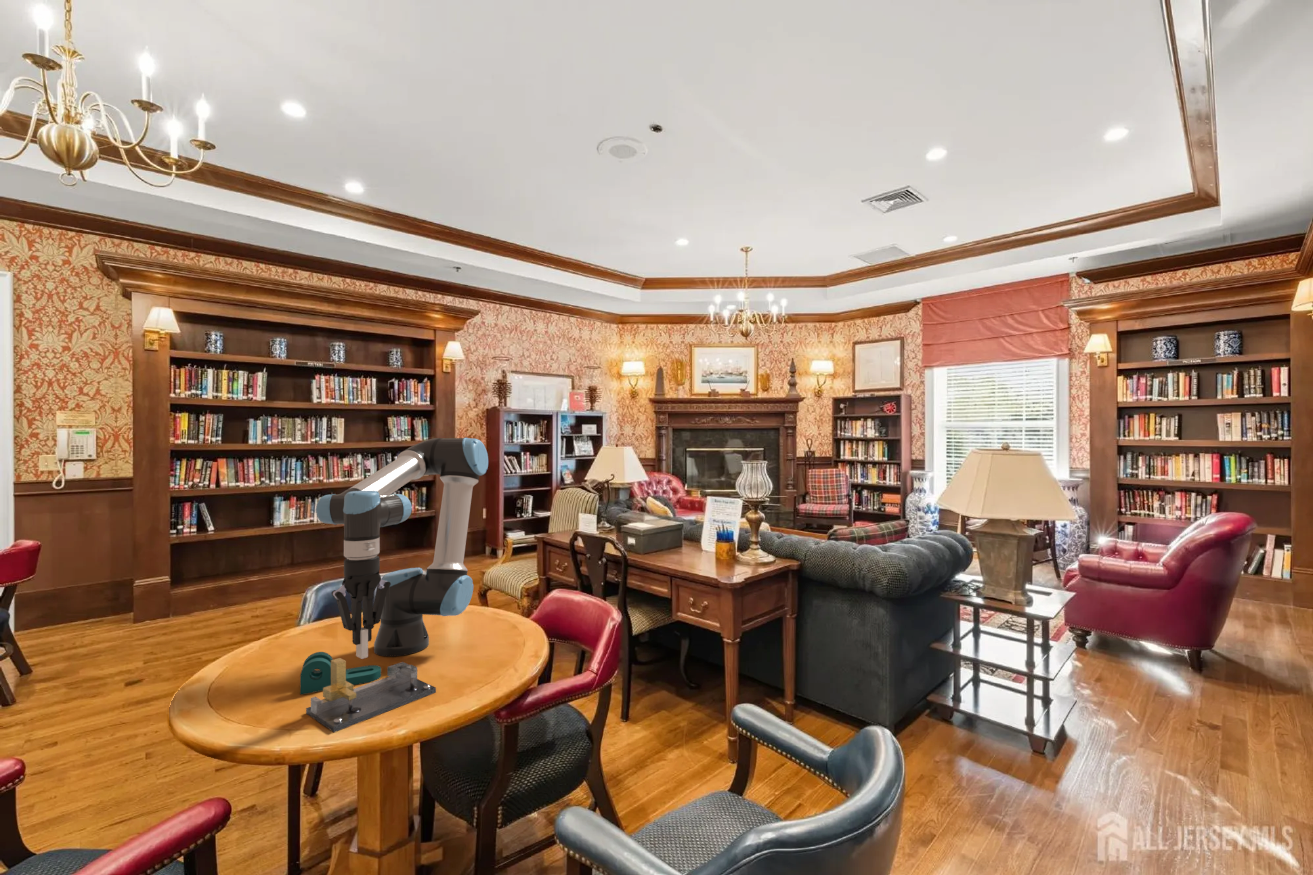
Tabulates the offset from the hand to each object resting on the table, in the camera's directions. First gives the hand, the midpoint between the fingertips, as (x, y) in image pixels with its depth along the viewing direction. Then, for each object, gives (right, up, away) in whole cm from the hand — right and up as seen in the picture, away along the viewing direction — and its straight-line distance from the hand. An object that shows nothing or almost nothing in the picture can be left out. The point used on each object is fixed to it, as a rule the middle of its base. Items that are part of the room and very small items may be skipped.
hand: (362, 656), depth 134 cm
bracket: (-12, -12, +13) cm, 22 cm away
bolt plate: (+2, -12, +2) cm, 12 cm away
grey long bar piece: (+1, -11, +2) cm, 11 cm away
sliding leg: (-3, -10, -3) cm, 11 cm away
